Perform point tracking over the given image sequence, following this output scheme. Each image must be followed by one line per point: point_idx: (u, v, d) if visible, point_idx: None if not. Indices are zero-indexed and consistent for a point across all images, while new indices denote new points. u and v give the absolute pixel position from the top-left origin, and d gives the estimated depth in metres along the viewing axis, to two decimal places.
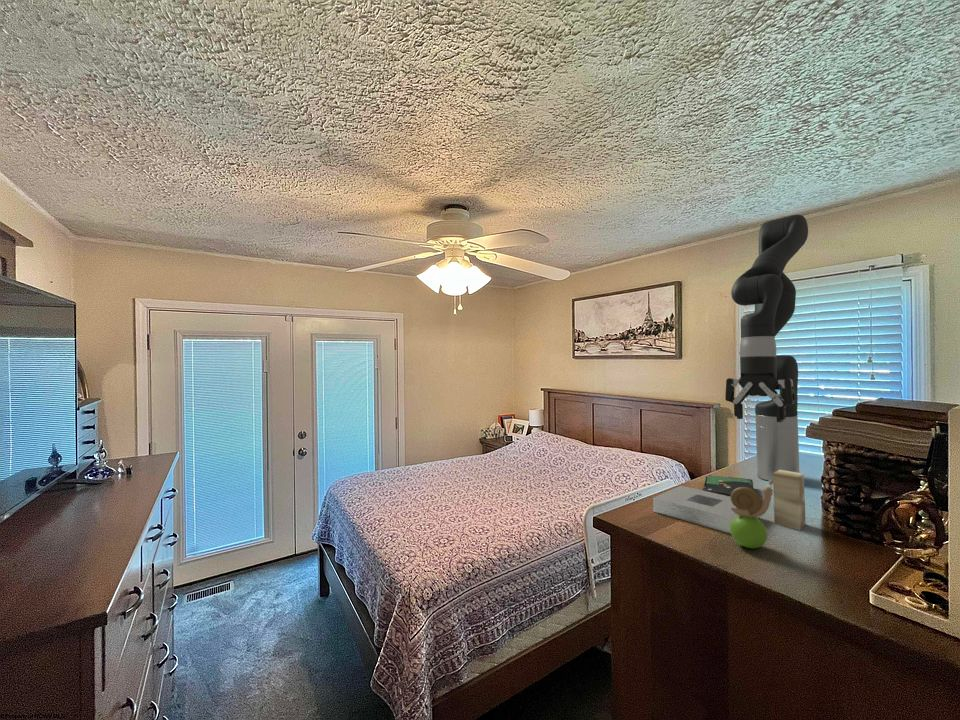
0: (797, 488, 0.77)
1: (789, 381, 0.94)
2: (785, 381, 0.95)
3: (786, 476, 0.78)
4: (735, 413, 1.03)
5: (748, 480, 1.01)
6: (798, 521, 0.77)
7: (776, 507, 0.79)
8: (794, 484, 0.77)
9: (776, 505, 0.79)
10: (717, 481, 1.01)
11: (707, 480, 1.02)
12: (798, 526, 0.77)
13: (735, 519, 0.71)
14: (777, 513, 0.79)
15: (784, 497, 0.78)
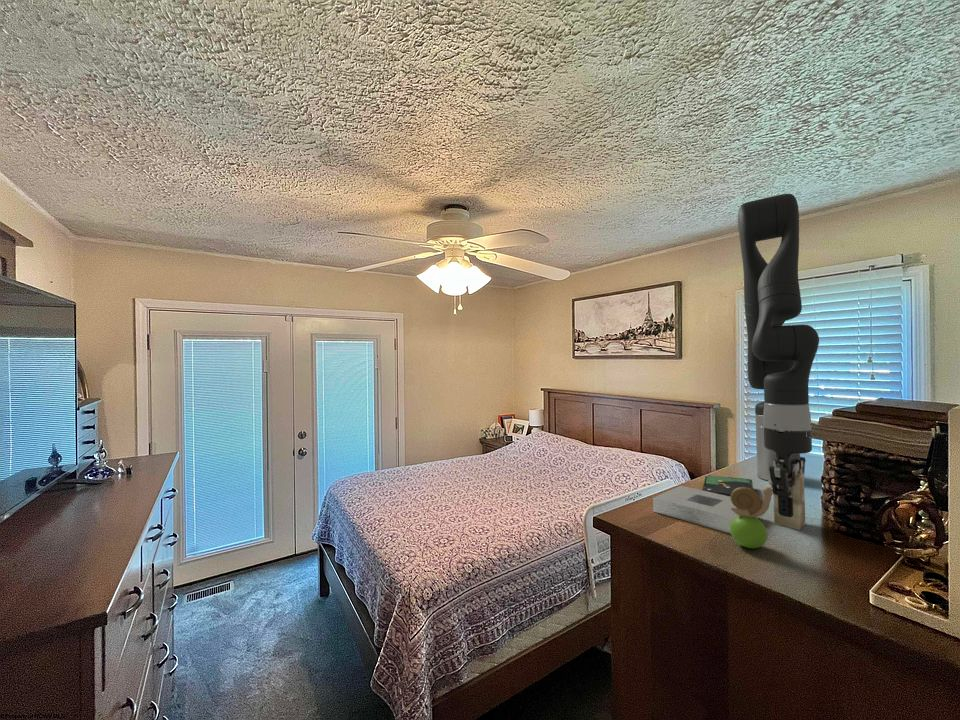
0: (797, 488, 0.77)
1: None
2: (804, 459, 0.82)
3: None
4: (788, 510, 0.77)
5: (747, 480, 1.01)
6: (798, 521, 0.77)
7: (776, 507, 0.79)
8: None
9: (776, 505, 0.79)
10: (716, 481, 1.01)
11: (706, 480, 1.02)
12: (798, 526, 0.77)
13: (735, 519, 0.71)
14: (777, 513, 0.79)
15: None
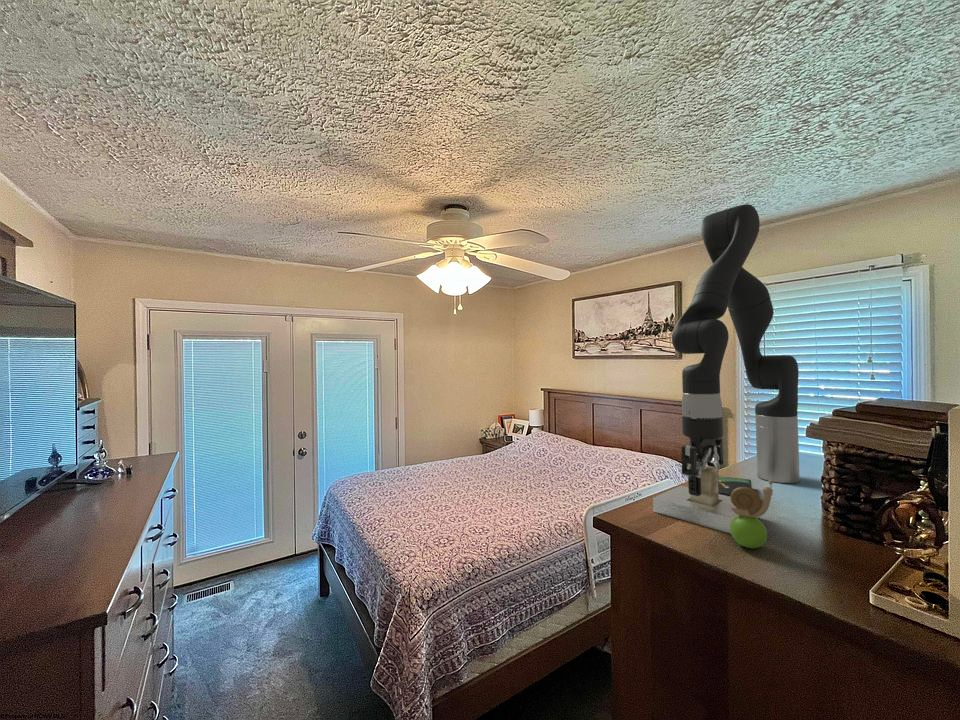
0: (709, 481, 0.83)
1: (721, 440, 0.88)
2: (720, 441, 0.88)
3: None
4: (696, 489, 0.82)
5: (746, 480, 1.01)
6: None
7: (692, 499, 0.85)
8: (706, 477, 0.83)
9: (692, 497, 0.85)
10: None
11: None
12: None
13: (735, 519, 0.71)
14: None
15: None
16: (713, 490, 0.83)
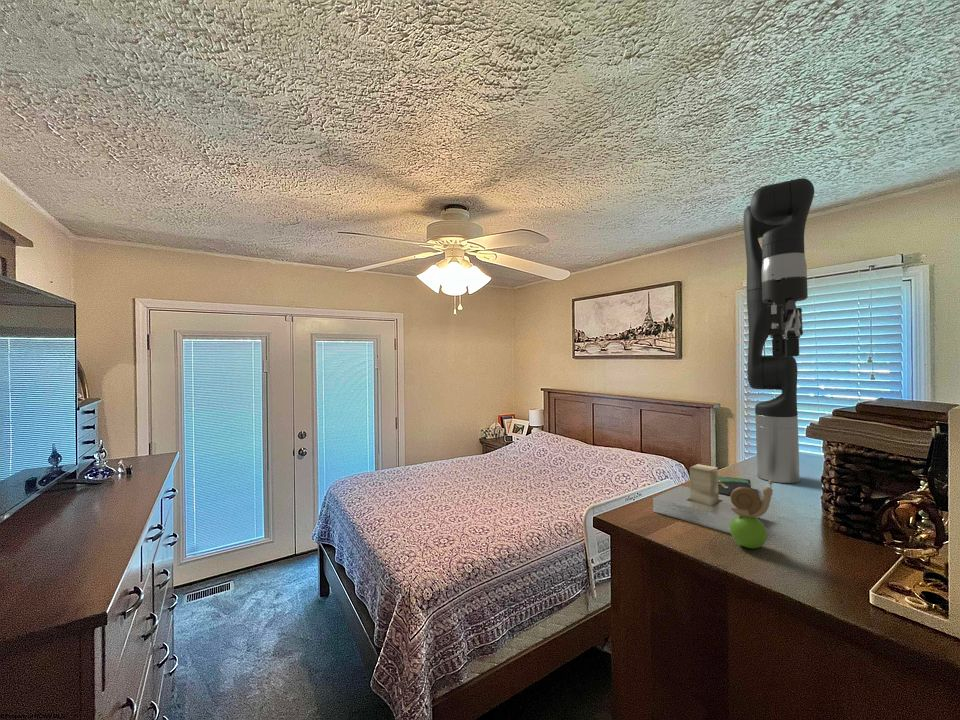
0: (709, 481, 0.83)
1: None
2: (800, 310, 0.86)
3: (700, 470, 0.84)
4: (782, 350, 0.80)
5: (746, 480, 1.01)
6: None
7: (692, 499, 0.85)
8: (706, 477, 0.83)
9: (692, 497, 0.85)
10: None
11: None
12: None
13: (735, 519, 0.71)
14: None
15: (698, 489, 0.84)
16: (713, 490, 0.83)
